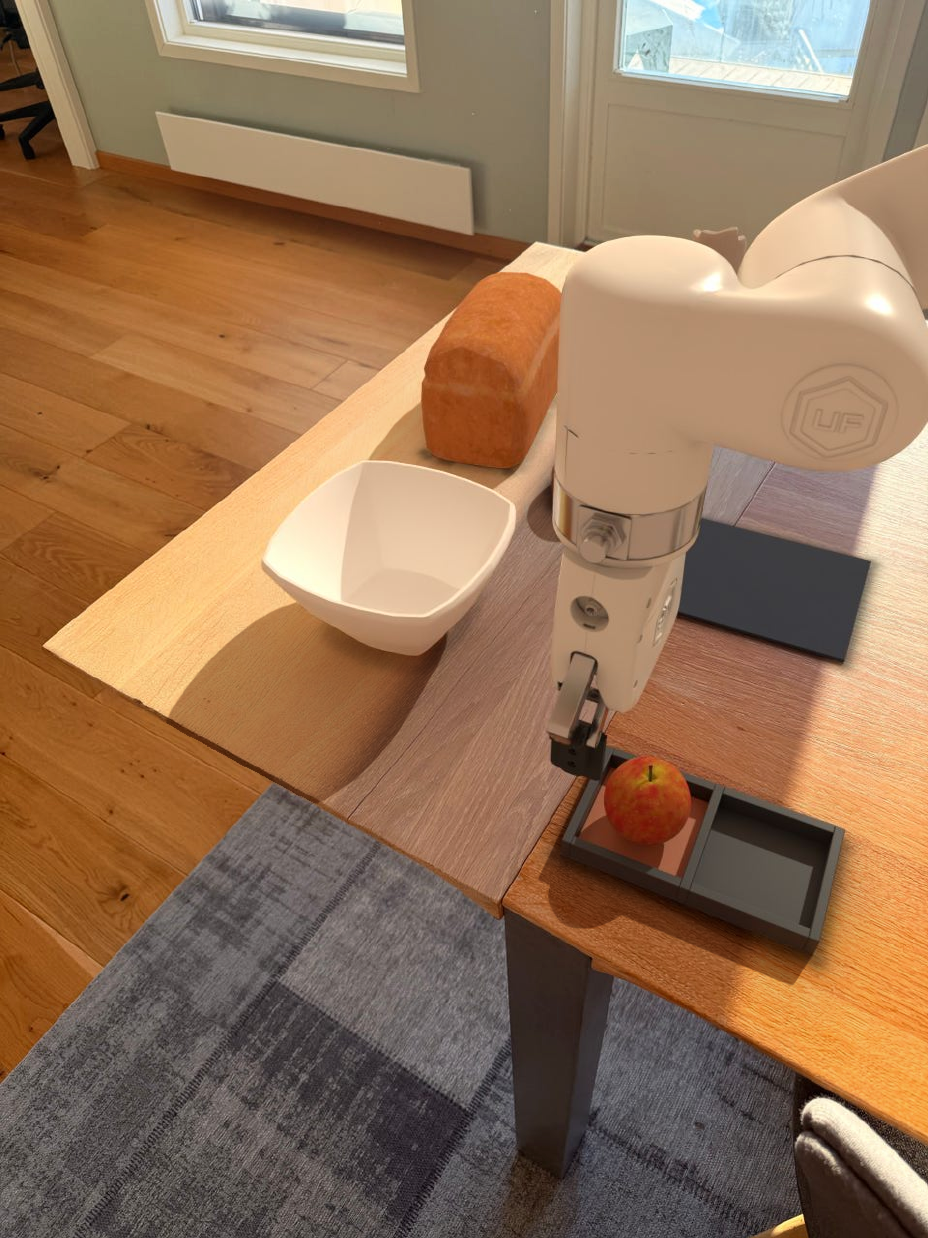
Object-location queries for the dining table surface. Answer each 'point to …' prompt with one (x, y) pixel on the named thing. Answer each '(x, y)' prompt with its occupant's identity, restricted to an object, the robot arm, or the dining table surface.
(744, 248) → the candle
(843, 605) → the mat
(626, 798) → the fruit
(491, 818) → the dining table surface
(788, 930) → the tray
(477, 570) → the bowl
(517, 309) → the bread
